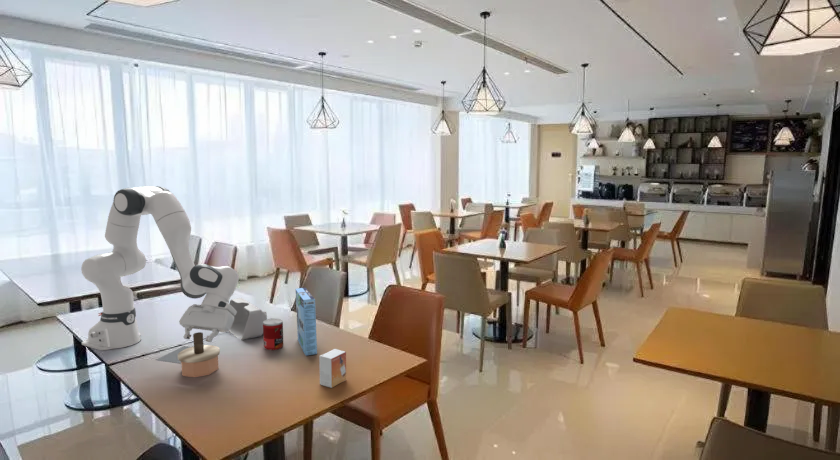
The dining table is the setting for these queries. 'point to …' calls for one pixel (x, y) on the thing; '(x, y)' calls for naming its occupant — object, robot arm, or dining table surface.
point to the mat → (172, 356)
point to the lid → (198, 351)
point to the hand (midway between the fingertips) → (197, 339)
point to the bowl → (199, 368)
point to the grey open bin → (247, 319)
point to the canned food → (273, 334)
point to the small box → (332, 368)
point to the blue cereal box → (306, 321)
